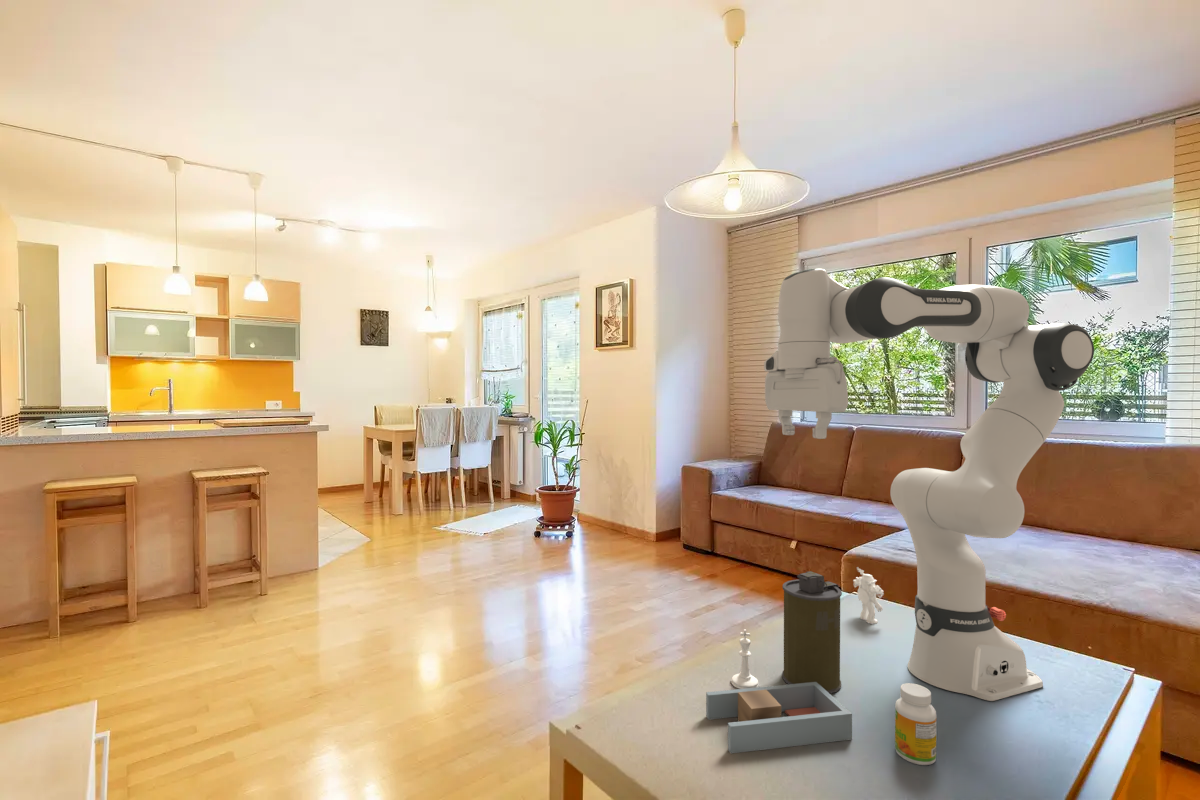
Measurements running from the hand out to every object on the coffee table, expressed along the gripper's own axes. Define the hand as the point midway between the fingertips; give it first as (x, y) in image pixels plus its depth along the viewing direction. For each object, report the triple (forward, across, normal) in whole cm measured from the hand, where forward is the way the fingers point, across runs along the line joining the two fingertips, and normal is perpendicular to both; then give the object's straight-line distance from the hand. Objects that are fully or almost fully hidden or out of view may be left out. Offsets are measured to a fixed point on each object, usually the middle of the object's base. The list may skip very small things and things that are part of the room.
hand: (803, 436), depth 102 cm
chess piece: (+46, +5, +9) cm, 47 cm away
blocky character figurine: (+46, +25, -35) cm, 63 cm away
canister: (+46, +3, -4) cm, 47 cm away
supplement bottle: (+46, -20, -6) cm, 51 cm away
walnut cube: (+46, -9, +14) cm, 49 cm away
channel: (+46, -9, +10) cm, 48 cm away
